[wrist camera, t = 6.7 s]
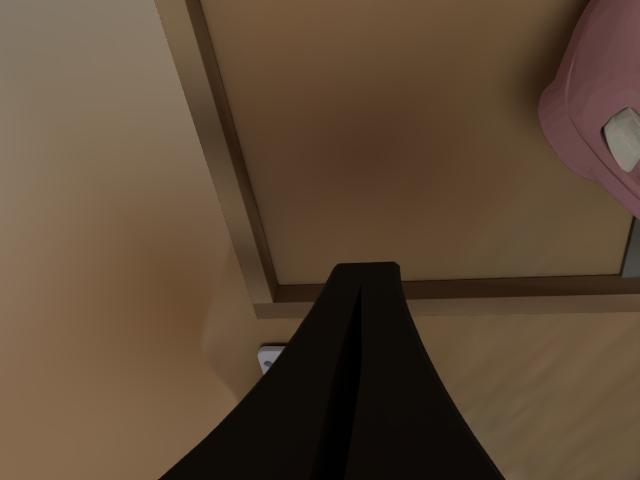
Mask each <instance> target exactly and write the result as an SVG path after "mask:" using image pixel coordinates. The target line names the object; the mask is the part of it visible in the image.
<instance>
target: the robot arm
mask: <svg viewBox="0 0 640 480" xmlns="http://www.w3.org/2000/svg"><path fill="white" fill-rule="evenodd" d="M257 356H258V360H259V363H260V366H261V369H262V371H263V374H264V375H263V376H262V378H261V379H260V380H259V381H258V382H257V384H256V385H255V386H254V387H253V388H252V389H251V390H250V392H249V393H248V394H247V395H246V396H245V397H244V398H243V400H242V401H241V402H240V403H239V404H238V405H237V406H236V407H235V408H234V409H233V410H232V411H231V412H230V413H229V414H228V415H227V416H226V418H225V419H223V421H222V422H221V423H220V424H219V425H218V426H217V427H216V428H215V429H214V430H213V431H212V432H211V433H210V434H209V435H208V436H207V437H206V438H204V439H203V440H202V441H201V442H200V443H199V444H198V445H197V446H196V447H195V448H193V449H192V450H191V451H190V452H189V453H188V454H187V455H186V456H184V457H183V458H182V459H181V460H180V461H179V462H178V463H176V464H175V465H174V466H173V467H172V468H171V469H170V470H169V471H167V472H166V473H165V474H164V475H163V476H162V477H161V478H160V479H158V480H506V479H505V478H504V477H503V475H502V474H501V472H500V471H499V470H498V468H497V467H496V465H495V464H494V463H493V461H492V460H491V458H490V457H489V455H488V454H487V453H486V451H485V450H484V448H483V447H482V446H481V444H480V443H479V441H478V440H477V438H476V437H475V436H474V434H473V433H472V431H471V430H470V428H469V426H468V425H467V423H466V422H465V420H464V419H463V417H462V415H461V414H460V412H459V411H458V409H457V407H456V406H455V404H454V402H453V401H452V399H451V397H450V395H449V394H448V392H447V390H446V389H445V387H444V385H443V383H442V381H441V379H440V378H439V376H438V374H437V372H436V370H435V368H434V366H433V364H432V362H431V360H430V358H429V356H428V354H427V352H426V350H425V348H424V345H423V343H422V341H421V339H420V336H419V334H418V331H417V329H416V327H415V324H414V322H413V319H412V317H411V314H410V311H409V308H408V305H407V302H406V299H405V296H404V292H403V288H402V284H401V276H400V266H399V265H398V264H397V263H395V262H369V263H340V264H337V265H336V266H335V267H334V268H333V270H332V272H331V274H330V276H329V278H328V280H327V282H326V284H325V286H324V287H323V289H322V291H321V293H320V294H319V296H318V298H317V299H316V301H315V303H314V304H313V306H312V308H311V309H310V311H309V312H308V314H307V316H306V317H305V319H304V320H303V322H302V323H301V325H300V326H299V328H298V329H297V331H296V332H295V334H294V335H293V337H292V338H291V340H290V341H289V342H288V344H287V345H286V346H265V347H261V348H260V349H259V351H258V354H257Z"/></svg>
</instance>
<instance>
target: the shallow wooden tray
mask: <svg viewBox="0 0 640 480" xmlns="http://www.w3.org/2000/svg"><path fill="white" fill-rule="evenodd" d="M154 1H155V4H156V7H157V10H158V14H159V16H160V20H161V23H162V26H163V29H164V32H165V35H166V38H167V41H168V44H169V47H170V50H171V54H172V56H173V60H174V63H175V66H176V69H177V72H178V75H179V78H180V81H181V84H182V88H183V91H184V94H185V97H186V100H187V103H188V106H189V109H190V112H191V115H192V118H193V122H194V125H195V128H196V131H197V134H198V137H199V140H200V143H201V146H202V149H203V152H204V155H205V159H206V162H207V165H208V168H209V171H210V174H211V177H212V180H213V183H214V186H215V189H216V192H217V195H218V198H219V202H220V205H221V208H222V211H223V214H224V217H225V220H226V223H227V226H228V229H229V233H230V236H231V239H232V242H233V245H234V248H235V251H236V254H237V257H238V260H239V264H240V267H241V270H242V273H243V276H244V279H245V282H246V285H247V288H248V291H249V294H250V297H251V301H252V304H253V307H254V310H255V313H256V316H257V319H273V318H305V317H306V316H307V314H308V312H309V311H310V309H311V308H312V306H313V304H314V303H315V301H316V299H317V298H318V296H319V294H320V293H321V291H322V289H323V287H324V286H325V284H319V285H287V286H278V283H277V280H276V276H275V272H274V269H273V265H272V262H271V258H270V254H269V251H268V247H267V243H266V240H265V236H264V233H263V229H262V225H261V222H260V218H259V215H258V211H257V207H256V204H255V200H254V196H253V193H252V189H251V186H250V182H249V178H248V175H247V171H246V167H245V164H244V160H243V157H242V153H241V149H240V146H239V142H238V138H237V135H236V131H235V128H234V124H233V120H232V117H231V113H230V109H229V106H228V102H227V99H226V95H225V91H224V88H223V84H222V80H221V77H220V73H219V70H218V66H217V62H216V59H215V55H214V51H213V48H212V44H211V41H210V37H209V33H208V30H207V26H206V22H205V19H204V15H203V12H202V8H201V4H200V1H199V0H154ZM401 284H402V288H403V292H404V296H405V299H406V302H407V305H408V308H409V311H410V314H411V316H438V315H493V314H548V313H603V312H640V220H639V219H638V218H636V217H635V216H634V218H633V222H632V227H631V231H630V235H629V239H628V243H627V247H626V251H625V256H624V260H623V264H622V268H621V272H620V275H601V276H570V277H538V278H507V279H475V280H444V281H413V282H401Z"/></svg>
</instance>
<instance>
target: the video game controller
mask: <svg viewBox="0 0 640 480" xmlns="http://www.w3.org/2000/svg"><path fill="white" fill-rule="evenodd" d="M538 116H539V121H540V125H541V128H542V131H543V133H544V135H545V137H546V139H547V141H548V142H549V144H550V145H551V147H552V148H553V150H554V151H555V153H556V154H557V156H558V157H559V159H560V160H561V161H562V162H563V163H564V164H565V165H566V166H567V167H569V168H570V169H571V170H572V171H573V172H575V173H576V174H578V175H580V176H582V177H584V178H586V179H589V180H591V181H594V182H599V183H600V184H601V185H602V187H603V188H604V189H605V190H606V191H607V192H608V193H609V194H611V195H612V196H613V197H614V198H615V199H616V200H617V201H618V202H619V203H620V204H622V205H623V206H624V207H625V208H626V209H627V210H628V211H629V212H630V213H632V214H633V215H634V216H635V217H636V218H638V219H639V220H640V0H590V1H589V3H588V4H587V6H586V7H585V9H584V11H583V13H582V15H581V17H580V19H579V21H578V23H577V24H576V26H575V28H574V31H573V33H572V36H571V38H570V41H569V44H568V46H567V49H566V51H565V54H564V56H563V59H562V61H561V64H560V67H559V69H558V72H557V74H556V77H555V79H554V81H553V82H552V83H551V84H550V85H548V86H547V87H546V88H545V89H544V91H543V92H542V93H541V96H540V99H539V104H538Z"/></svg>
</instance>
